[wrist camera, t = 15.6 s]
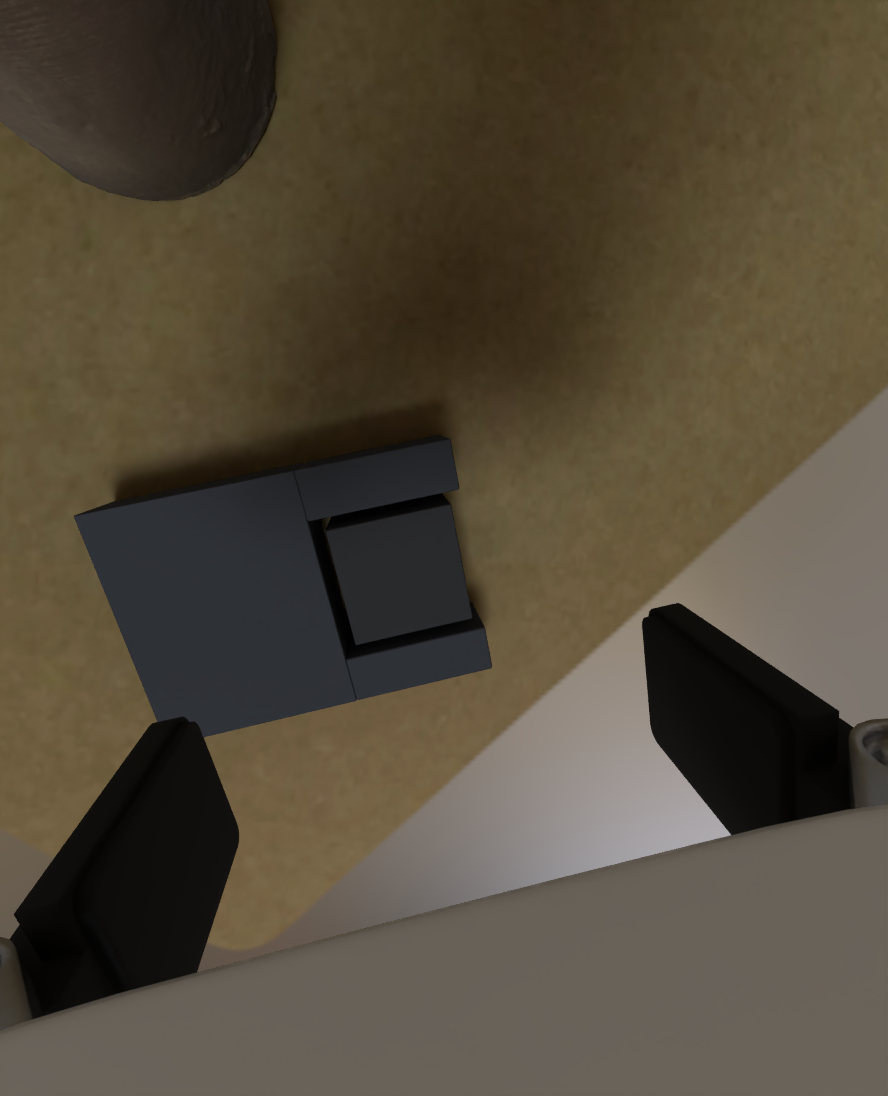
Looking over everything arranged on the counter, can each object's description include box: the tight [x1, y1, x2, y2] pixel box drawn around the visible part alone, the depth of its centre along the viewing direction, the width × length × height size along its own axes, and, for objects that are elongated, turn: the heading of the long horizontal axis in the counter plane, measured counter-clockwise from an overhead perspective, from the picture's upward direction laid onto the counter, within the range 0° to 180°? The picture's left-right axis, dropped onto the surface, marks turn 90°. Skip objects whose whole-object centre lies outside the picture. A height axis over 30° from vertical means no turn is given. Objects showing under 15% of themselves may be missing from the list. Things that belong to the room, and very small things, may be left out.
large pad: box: [74, 435, 492, 737], centre depth 22 cm, size 14×10×3 cm
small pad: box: [326, 493, 472, 645], centre depth 22 cm, size 5×5×3 cm
